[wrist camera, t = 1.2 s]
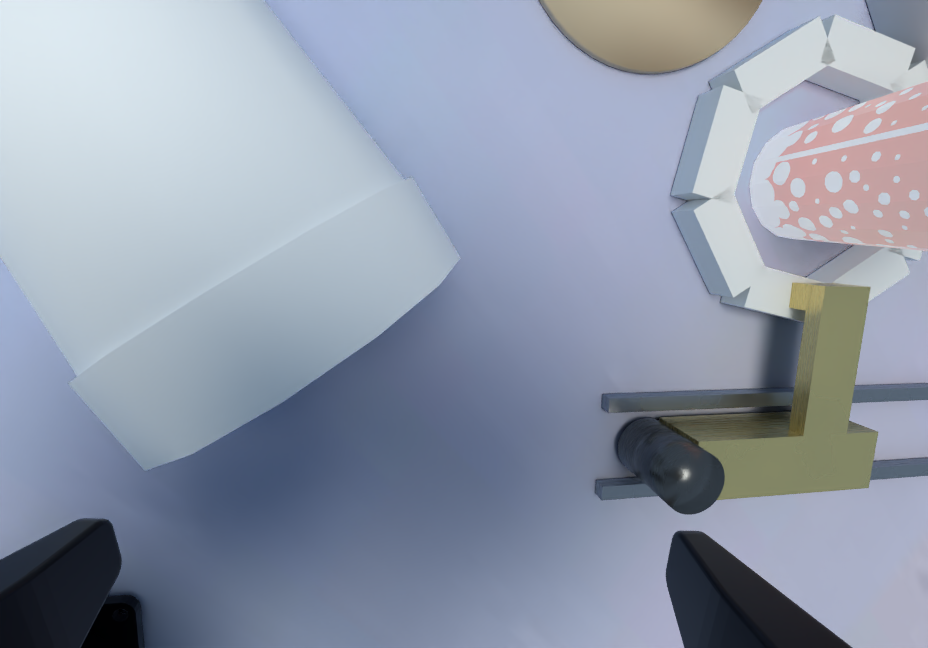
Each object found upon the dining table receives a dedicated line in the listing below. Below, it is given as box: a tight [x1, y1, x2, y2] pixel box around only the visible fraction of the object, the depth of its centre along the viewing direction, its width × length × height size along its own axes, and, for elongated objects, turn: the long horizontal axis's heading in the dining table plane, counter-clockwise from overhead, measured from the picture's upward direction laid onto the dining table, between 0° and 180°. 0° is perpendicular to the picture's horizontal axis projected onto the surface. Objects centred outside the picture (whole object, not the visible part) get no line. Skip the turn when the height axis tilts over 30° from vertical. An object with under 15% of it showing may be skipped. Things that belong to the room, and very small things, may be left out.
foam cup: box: [0, 0, 460, 471], centre depth 12 cm, size 10×9×13 cm
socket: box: [671, 0, 928, 323], centre depth 20 cm, size 15×14×4 cm
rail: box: [595, 383, 928, 500], centre depth 23 cm, size 4×23×1 cm, turn 89°
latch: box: [618, 283, 878, 514], centre depth 20 cm, size 8×10×3 cm
